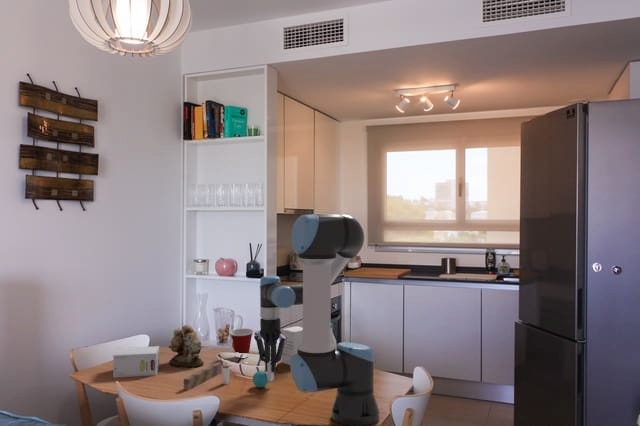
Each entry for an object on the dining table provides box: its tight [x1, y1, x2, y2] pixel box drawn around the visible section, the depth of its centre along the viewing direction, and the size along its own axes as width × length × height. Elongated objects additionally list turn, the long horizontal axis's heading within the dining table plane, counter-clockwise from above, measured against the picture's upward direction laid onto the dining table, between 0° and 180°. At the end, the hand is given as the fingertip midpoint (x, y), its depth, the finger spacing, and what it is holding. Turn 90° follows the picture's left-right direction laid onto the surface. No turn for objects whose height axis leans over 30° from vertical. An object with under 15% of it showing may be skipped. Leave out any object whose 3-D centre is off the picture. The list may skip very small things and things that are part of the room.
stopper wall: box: [183, 362, 222, 391], centre depth 213 cm, size 24×2×4 cm, turn 160°
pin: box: [222, 360, 230, 385], centre depth 209 cm, size 2×2×8 cm
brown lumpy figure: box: [168, 324, 205, 369], centre depth 238 cm, size 18×12×17 cm, turn 60°
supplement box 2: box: [280, 325, 303, 366], centre depth 238 cm, size 9×9×15 cm
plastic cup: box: [229, 328, 254, 354], centre depth 249 cm, size 11×11×12 cm
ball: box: [252, 370, 269, 388], centre depth 204 cm, size 6×6×6 cm
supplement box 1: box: [112, 345, 160, 379], centre depth 226 cm, size 17×13×9 cm
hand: (270, 380), depth 204 cm, fingers closed
